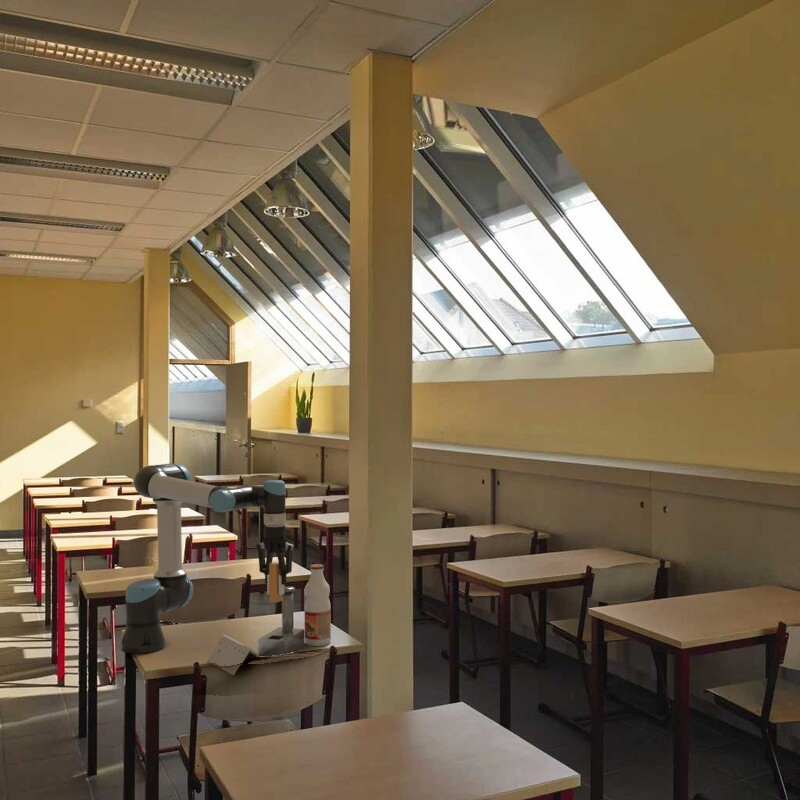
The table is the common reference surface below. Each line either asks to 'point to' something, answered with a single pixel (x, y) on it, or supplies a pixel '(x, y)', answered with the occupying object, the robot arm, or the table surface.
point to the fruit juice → (317, 608)
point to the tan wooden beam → (274, 582)
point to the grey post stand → (283, 631)
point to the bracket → (230, 652)
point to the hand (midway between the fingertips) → (275, 593)
